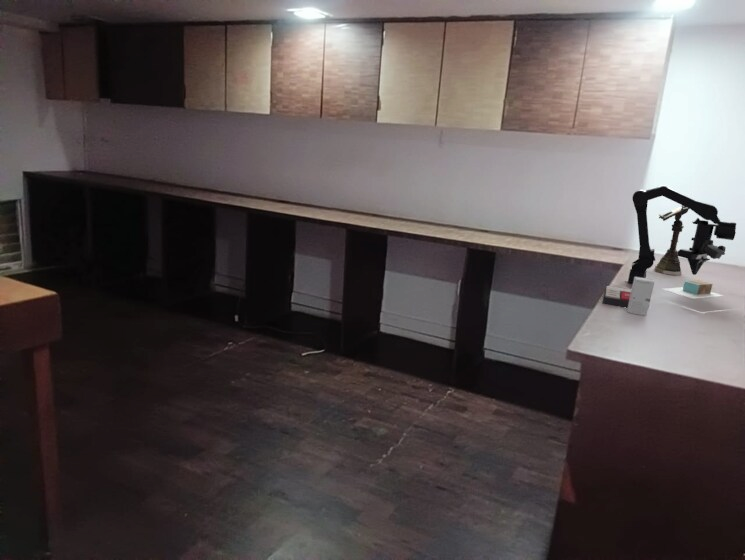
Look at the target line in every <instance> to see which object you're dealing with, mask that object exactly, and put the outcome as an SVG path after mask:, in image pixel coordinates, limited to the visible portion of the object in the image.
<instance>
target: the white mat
mask: <svg viewBox="0 0 745 560" xmlns="http://www.w3.org/2000/svg"><path fill="white" fill-rule="evenodd" d="M683 287H684V286H681V287H669V288H666V287H664V288H662V290H663V291H667V292H670V293H673V294H677V295H679V296H682V297H686V298H689V299H692V300H695V299H705V298H716V297H717V298H718V297H724V295H723V294H719V293H718V292H717V293H716V292H712V291H711V293H709V294H698V295H696V294H693V293H689V292H686V291H683Z"/></svg>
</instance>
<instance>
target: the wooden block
mask: <svg viewBox="0 0 745 560" xmlns="http://www.w3.org/2000/svg"><path fill="white" fill-rule="evenodd" d="M682 287H683V291H686V292H689V293H693V294H696V295H698V294H709V293H711V292H712V289H713V283H711V282H707V281H703V280H700V279H694V280H693V279H692V280H685V281H684V283H683V286H682Z"/></svg>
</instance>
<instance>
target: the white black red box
mask: <svg viewBox="0 0 745 560" xmlns="http://www.w3.org/2000/svg"><path fill="white" fill-rule="evenodd" d="M631 290H632V289H628V288H622V287H615V286H609V285H607V286H605V287H604V291H603V292H604V293H603V298H602V305H608V306H612V305H613V307H618V306H620V307H619V308H624V307H626V309H627V308H628V303H629V299H630V294H631Z"/></svg>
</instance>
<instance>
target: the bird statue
mask: <svg viewBox="0 0 745 560" xmlns="http://www.w3.org/2000/svg"><path fill="white" fill-rule="evenodd" d="M689 210H690V209H689V208H687V207H685V206H683V205H680V207H677V208H675V209H674V210H668V211H667V212H665V213H662V214H661V213H659V214H658V216H659V217H658V219H661V220H662V221H663V222H665V221H668V219H670V218H673V217H674V219H675V221H673V223H672V224H671V231H672V236H671V239H670V247H669V248H668V249H667V250H666V252H665V254H664V255H663V256H662V257H661V258H660V260H659V261H658V263H657V264H656V265H655V267H654V272H656V273H657V272H658V273H661V274H664V275H670V276H682V268H681V261H680V259H679V256H677V253H678V251H679V250H677V245H678V243H679V236H680V233H681V232H683V229H684V224H683V221H682V220H681V218H682V216H683V215H685V214H687V213H688V212H689Z"/></svg>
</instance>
